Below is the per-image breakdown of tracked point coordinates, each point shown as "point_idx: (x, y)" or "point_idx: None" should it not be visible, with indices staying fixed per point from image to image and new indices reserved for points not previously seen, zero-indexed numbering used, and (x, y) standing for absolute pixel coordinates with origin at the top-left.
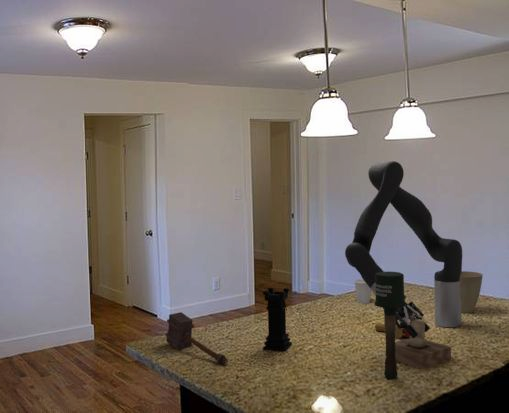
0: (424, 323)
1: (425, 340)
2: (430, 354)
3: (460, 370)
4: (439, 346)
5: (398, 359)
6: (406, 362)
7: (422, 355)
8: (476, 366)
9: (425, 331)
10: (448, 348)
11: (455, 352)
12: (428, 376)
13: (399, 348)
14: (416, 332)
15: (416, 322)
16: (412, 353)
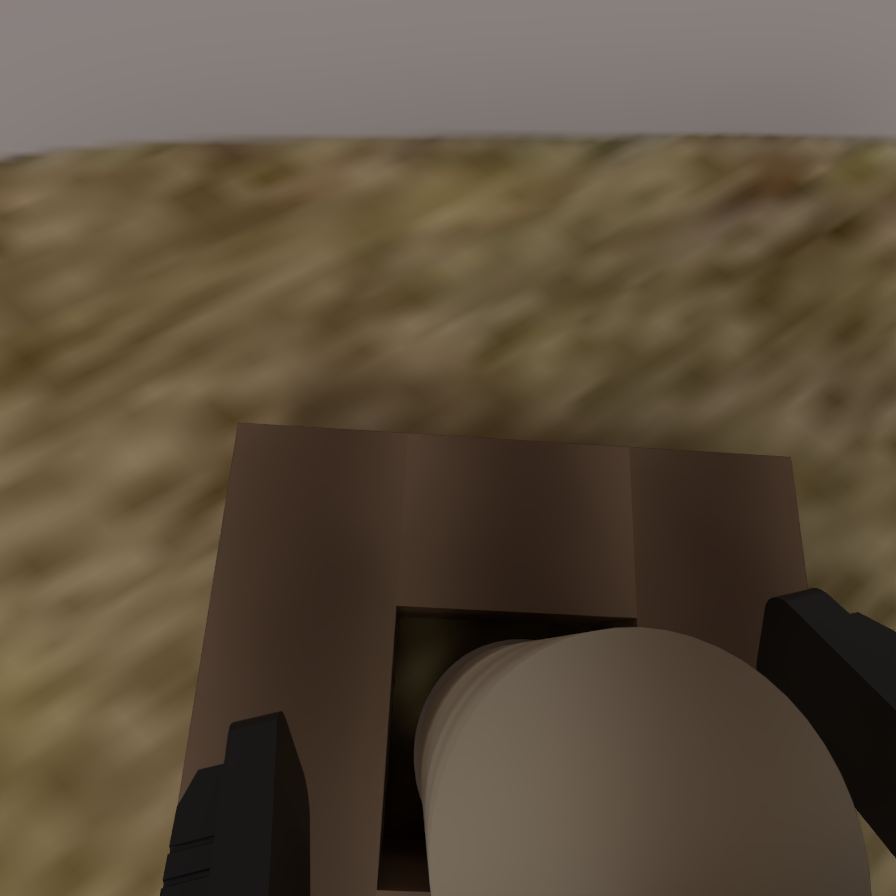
0: (537, 648)
1: None
2: (624, 452)
3: (468, 272)
4: (320, 529)
5: None
6: None
7: (766, 458)
8: (279, 238)
9: (301, 784)
10: (290, 429)
11: (5, 573)
12: (792, 359)
13: None
14: (822, 613)
15: (811, 738)
16: (806, 587)
